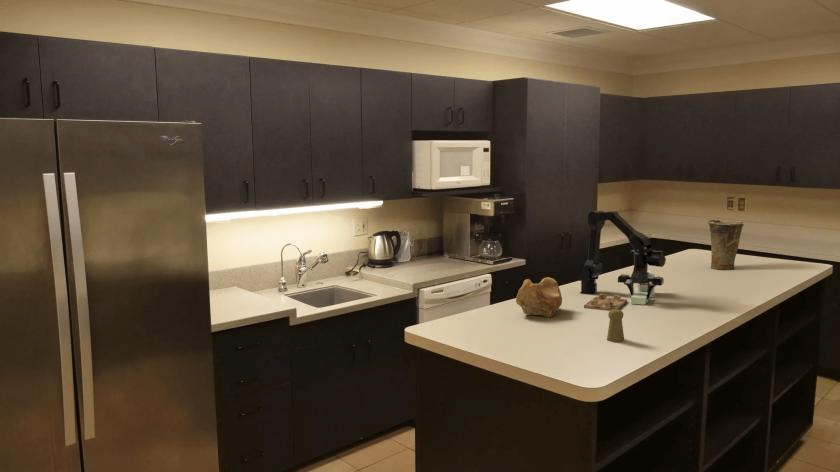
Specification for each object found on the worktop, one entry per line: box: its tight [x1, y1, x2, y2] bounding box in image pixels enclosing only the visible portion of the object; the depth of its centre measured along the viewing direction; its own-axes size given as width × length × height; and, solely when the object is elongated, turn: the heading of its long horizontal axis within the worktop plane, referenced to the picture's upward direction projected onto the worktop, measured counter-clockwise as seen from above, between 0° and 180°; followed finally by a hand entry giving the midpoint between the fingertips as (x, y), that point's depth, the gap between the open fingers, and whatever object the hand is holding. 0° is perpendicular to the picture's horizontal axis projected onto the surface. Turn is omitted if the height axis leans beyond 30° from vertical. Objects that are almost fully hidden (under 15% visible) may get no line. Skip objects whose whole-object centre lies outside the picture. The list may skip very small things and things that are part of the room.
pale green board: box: [630, 290, 650, 305], centre depth 280 cm, size 6×12×3 cm, turn 152°
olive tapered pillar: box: [606, 309, 625, 343], centre depth 224 cm, size 6×6×11 cm
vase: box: [707, 219, 745, 271], centre depth 349 cm, size 18×18×27 cm
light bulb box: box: [636, 270, 656, 298], centre depth 293 cm, size 11×7×11 cm, turn 168°
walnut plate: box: [583, 293, 628, 312], centre depth 276 cm, size 14×18×3 cm
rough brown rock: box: [515, 276, 563, 319], centre depth 263 cm, size 23×17×15 cm
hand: (640, 298), depth 280 cm, fingers closed on pale green board, 6 cm apart
